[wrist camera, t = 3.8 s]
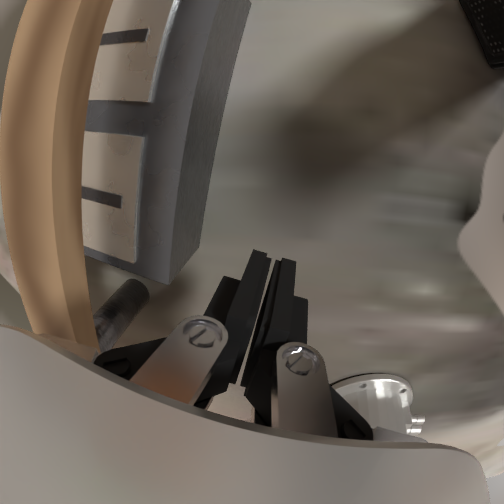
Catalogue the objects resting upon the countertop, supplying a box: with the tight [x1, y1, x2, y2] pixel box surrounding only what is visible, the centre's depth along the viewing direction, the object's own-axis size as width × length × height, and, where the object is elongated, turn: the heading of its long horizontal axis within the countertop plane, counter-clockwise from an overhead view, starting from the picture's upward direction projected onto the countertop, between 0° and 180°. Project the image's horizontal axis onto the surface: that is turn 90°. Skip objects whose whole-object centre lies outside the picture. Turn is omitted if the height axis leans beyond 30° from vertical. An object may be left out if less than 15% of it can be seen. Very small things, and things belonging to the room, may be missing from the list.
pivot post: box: [93, 279, 149, 353], centre depth 22 cm, size 3×3×10 cm
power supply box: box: [82, 0, 251, 285], centre depth 16 cm, size 12×20×6 cm, turn 168°
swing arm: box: [0, 0, 113, 353], centre depth 11 cm, size 5×30×2 cm, turn 168°
